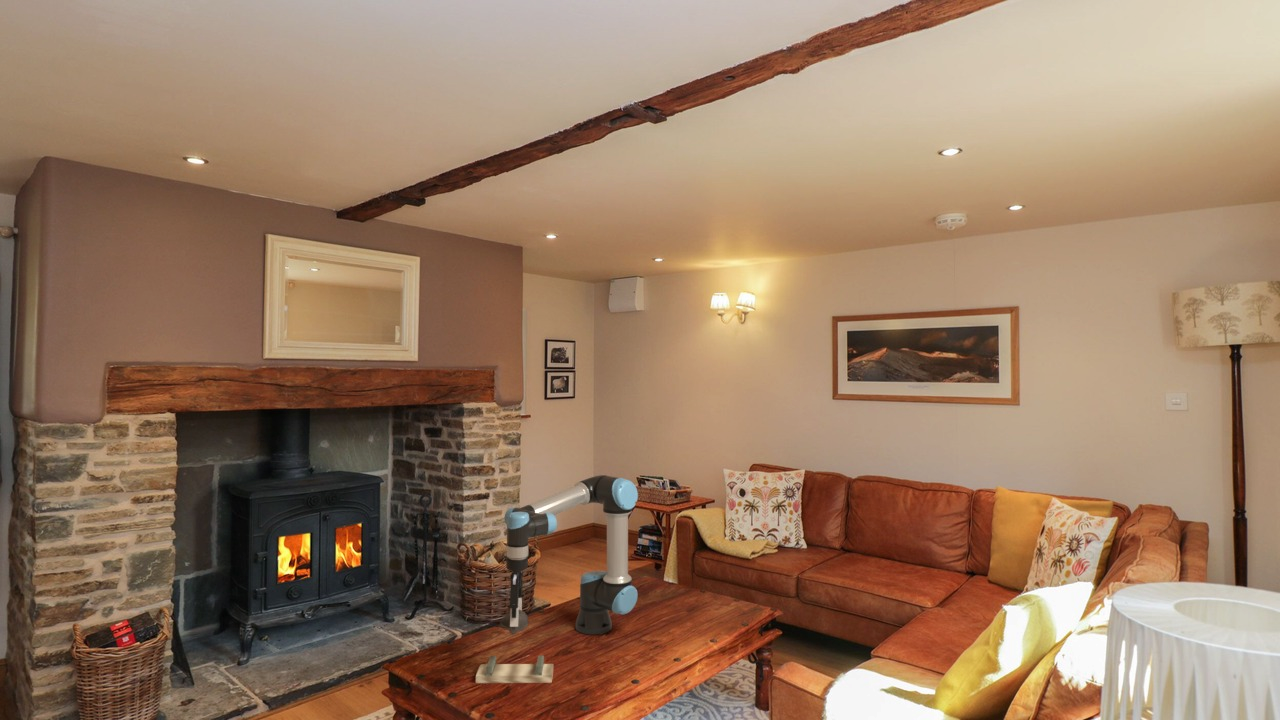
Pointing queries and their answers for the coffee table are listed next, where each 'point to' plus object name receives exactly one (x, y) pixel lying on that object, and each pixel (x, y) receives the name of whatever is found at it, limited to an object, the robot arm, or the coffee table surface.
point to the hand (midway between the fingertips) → (515, 621)
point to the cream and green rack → (515, 672)
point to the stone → (522, 622)
